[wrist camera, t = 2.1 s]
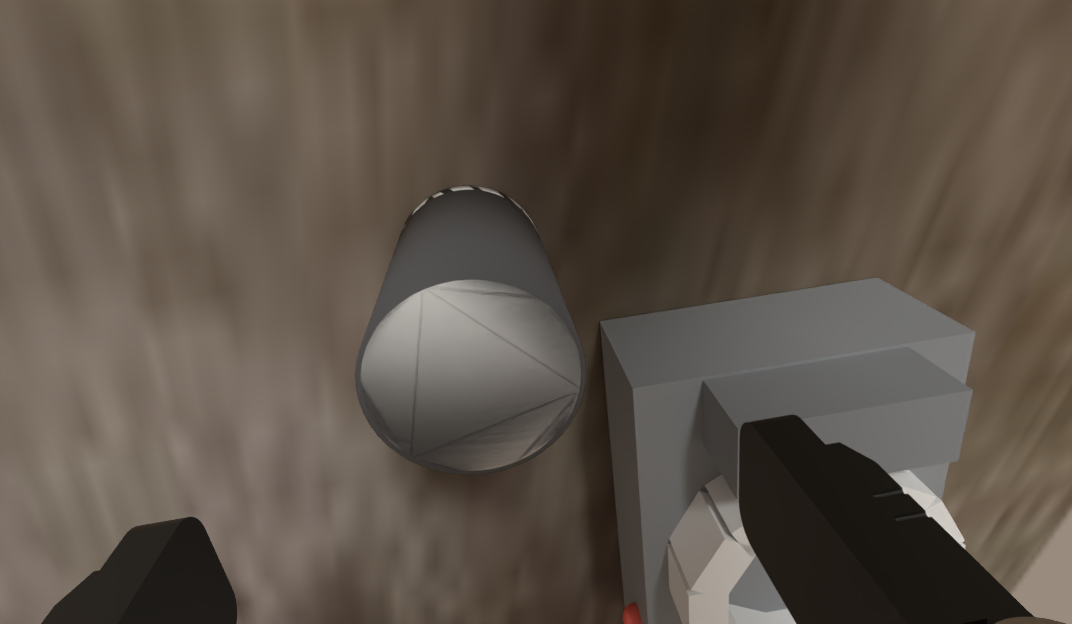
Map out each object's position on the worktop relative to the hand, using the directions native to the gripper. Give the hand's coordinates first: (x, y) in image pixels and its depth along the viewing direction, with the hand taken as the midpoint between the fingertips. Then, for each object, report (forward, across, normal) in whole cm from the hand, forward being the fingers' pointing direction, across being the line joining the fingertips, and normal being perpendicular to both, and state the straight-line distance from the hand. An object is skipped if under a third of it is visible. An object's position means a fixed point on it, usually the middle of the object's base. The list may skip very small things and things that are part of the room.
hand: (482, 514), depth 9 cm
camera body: (+12, -9, +10) cm, 17 cm away
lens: (+12, 0, 0) cm, 12 cm away
